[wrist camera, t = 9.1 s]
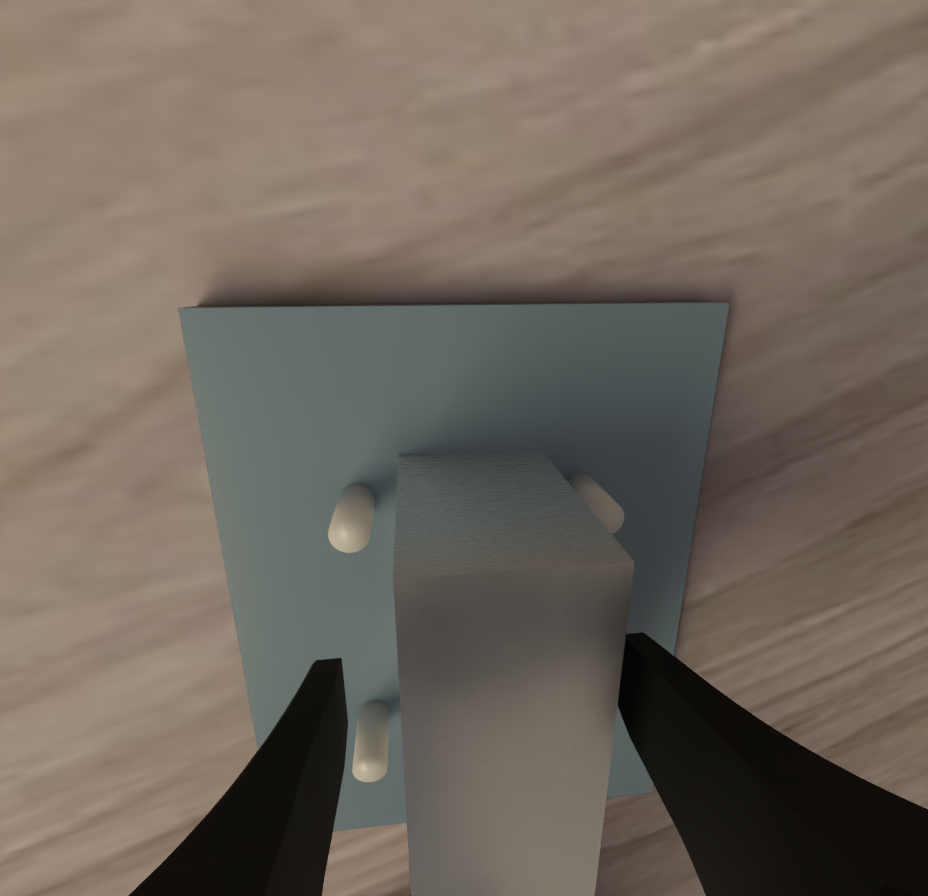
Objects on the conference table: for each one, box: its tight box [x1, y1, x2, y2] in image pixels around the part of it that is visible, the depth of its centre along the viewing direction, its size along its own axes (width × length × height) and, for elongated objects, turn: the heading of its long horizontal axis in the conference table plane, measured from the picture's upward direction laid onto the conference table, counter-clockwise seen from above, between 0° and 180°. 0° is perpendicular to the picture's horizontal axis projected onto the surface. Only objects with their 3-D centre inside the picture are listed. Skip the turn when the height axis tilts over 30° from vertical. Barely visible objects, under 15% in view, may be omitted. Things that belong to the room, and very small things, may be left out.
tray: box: [178, 302, 729, 831], centre depth 15 cm, size 18×14×3 cm
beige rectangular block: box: [393, 449, 635, 896], centre depth 12 cm, size 10×4×6 cm, turn 0°
